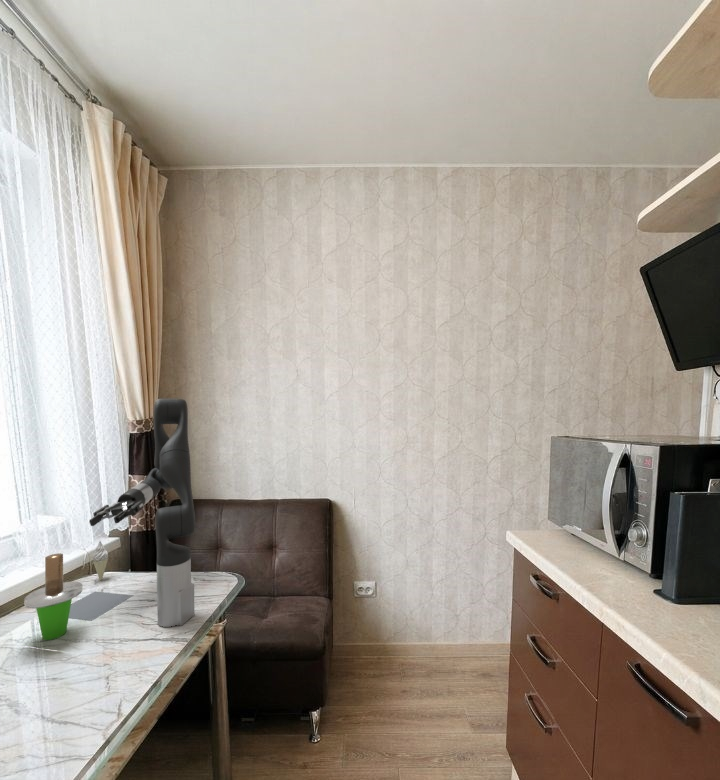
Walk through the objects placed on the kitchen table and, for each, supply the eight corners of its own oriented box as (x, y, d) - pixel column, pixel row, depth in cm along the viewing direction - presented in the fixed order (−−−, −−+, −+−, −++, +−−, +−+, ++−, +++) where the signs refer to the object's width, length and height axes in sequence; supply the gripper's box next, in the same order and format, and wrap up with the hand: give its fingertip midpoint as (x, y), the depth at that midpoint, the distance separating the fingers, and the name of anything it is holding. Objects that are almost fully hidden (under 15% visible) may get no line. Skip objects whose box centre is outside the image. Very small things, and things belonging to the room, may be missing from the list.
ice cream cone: (89, 583, 146) (88, 541, 146) (102, 577, 150) (102, 537, 151) (98, 585, 144) (98, 543, 144) (112, 579, 149) (111, 538, 149)
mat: (133, 596, 134) (133, 595, 134) (91, 622, 119) (91, 620, 119) (95, 592, 138) (95, 591, 138) (49, 617, 122) (49, 615, 122)
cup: (39, 650, 106) (39, 607, 106) (29, 638, 111) (29, 598, 111) (79, 633, 113) (79, 594, 113) (67, 623, 118) (67, 586, 119)
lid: (93, 587, 117) (93, 548, 117) (49, 610, 104) (49, 566, 105) (58, 584, 120) (58, 546, 120) (11, 605, 107) (11, 563, 108)
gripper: (114, 490, 141) (79, 513, 126) (151, 485, 140) (120, 508, 124) (120, 509, 143) (86, 535, 127) (157, 505, 141) (127, 530, 125)
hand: (103, 522), depth 125 cm, fingers open, 8 cm apart
